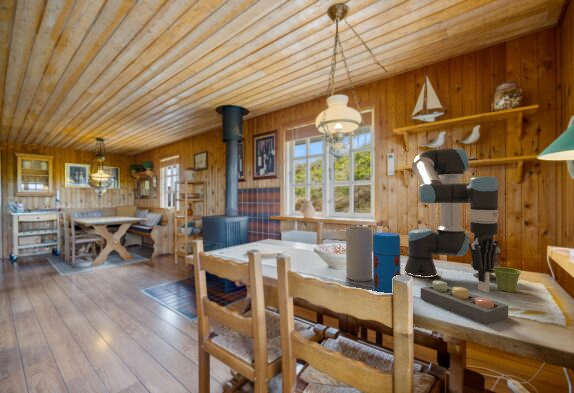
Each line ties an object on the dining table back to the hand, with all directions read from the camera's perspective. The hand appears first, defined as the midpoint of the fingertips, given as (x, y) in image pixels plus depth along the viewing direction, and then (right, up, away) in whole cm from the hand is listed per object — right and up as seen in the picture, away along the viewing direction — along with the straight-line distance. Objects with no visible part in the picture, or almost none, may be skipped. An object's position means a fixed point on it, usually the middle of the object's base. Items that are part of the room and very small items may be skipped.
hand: (483, 290), depth 89 cm
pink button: (0, -7, -1) cm, 7 cm away
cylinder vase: (-31, -9, +41) cm, 53 cm away
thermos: (-25, -9, +21) cm, 34 cm away
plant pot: (+28, -9, +23) cm, 37 cm away
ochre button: (-3, -6, +7) cm, 10 cm away
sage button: (-7, -6, +14) cm, 17 cm away
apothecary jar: (+32, -8, +40) cm, 52 cm away
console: (-3, -9, +7) cm, 12 cm away
